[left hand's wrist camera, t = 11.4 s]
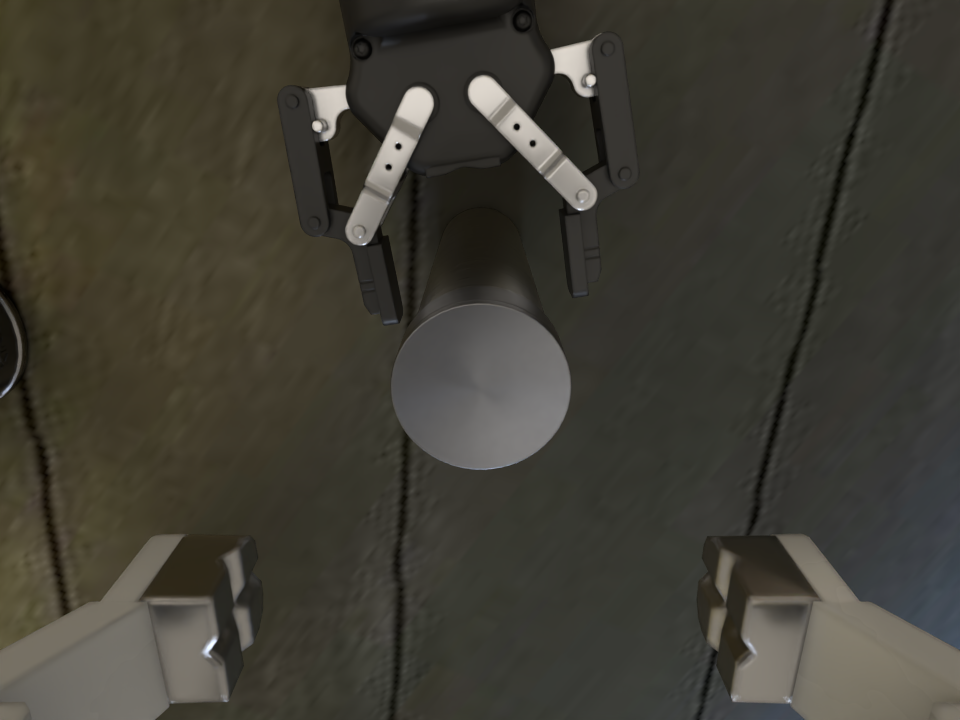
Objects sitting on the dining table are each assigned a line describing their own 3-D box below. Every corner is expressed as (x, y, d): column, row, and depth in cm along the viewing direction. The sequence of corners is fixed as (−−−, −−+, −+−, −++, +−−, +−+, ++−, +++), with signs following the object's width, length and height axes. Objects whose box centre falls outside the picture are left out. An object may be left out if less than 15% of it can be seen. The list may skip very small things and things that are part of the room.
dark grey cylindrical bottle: (455, 195, 34) (429, 282, 17) (533, 224, 35) (587, 337, 17) (429, 272, 36) (380, 427, 18) (504, 299, 36) (527, 474, 19)
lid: (428, 261, 18) (423, 276, 16) (589, 318, 19) (600, 339, 17) (377, 411, 20) (368, 439, 18) (527, 459, 20) (531, 491, 18)
